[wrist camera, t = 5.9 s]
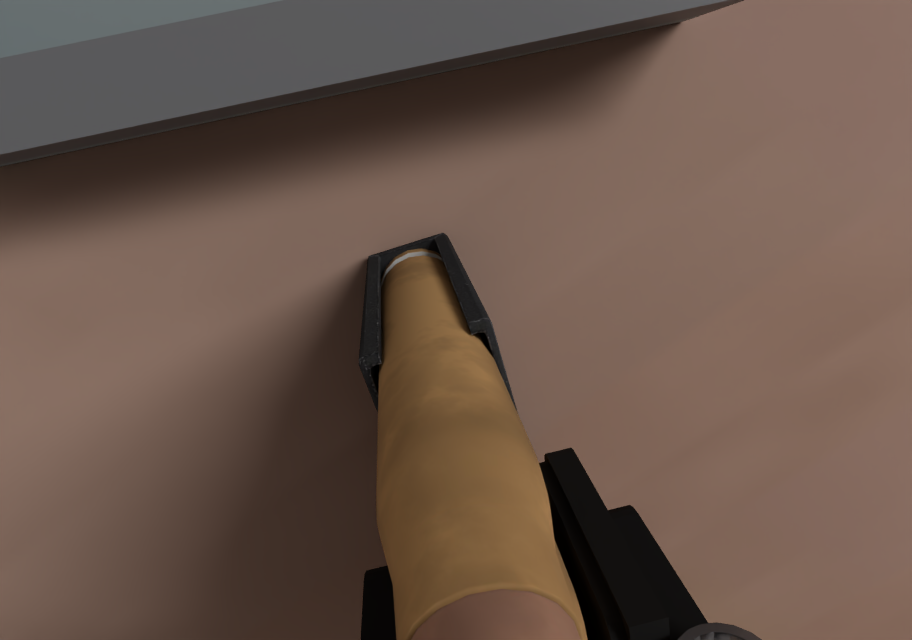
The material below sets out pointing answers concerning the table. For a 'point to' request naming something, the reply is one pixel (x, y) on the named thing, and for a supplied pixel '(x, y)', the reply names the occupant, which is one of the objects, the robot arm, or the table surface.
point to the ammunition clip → (455, 462)
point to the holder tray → (258, 55)
